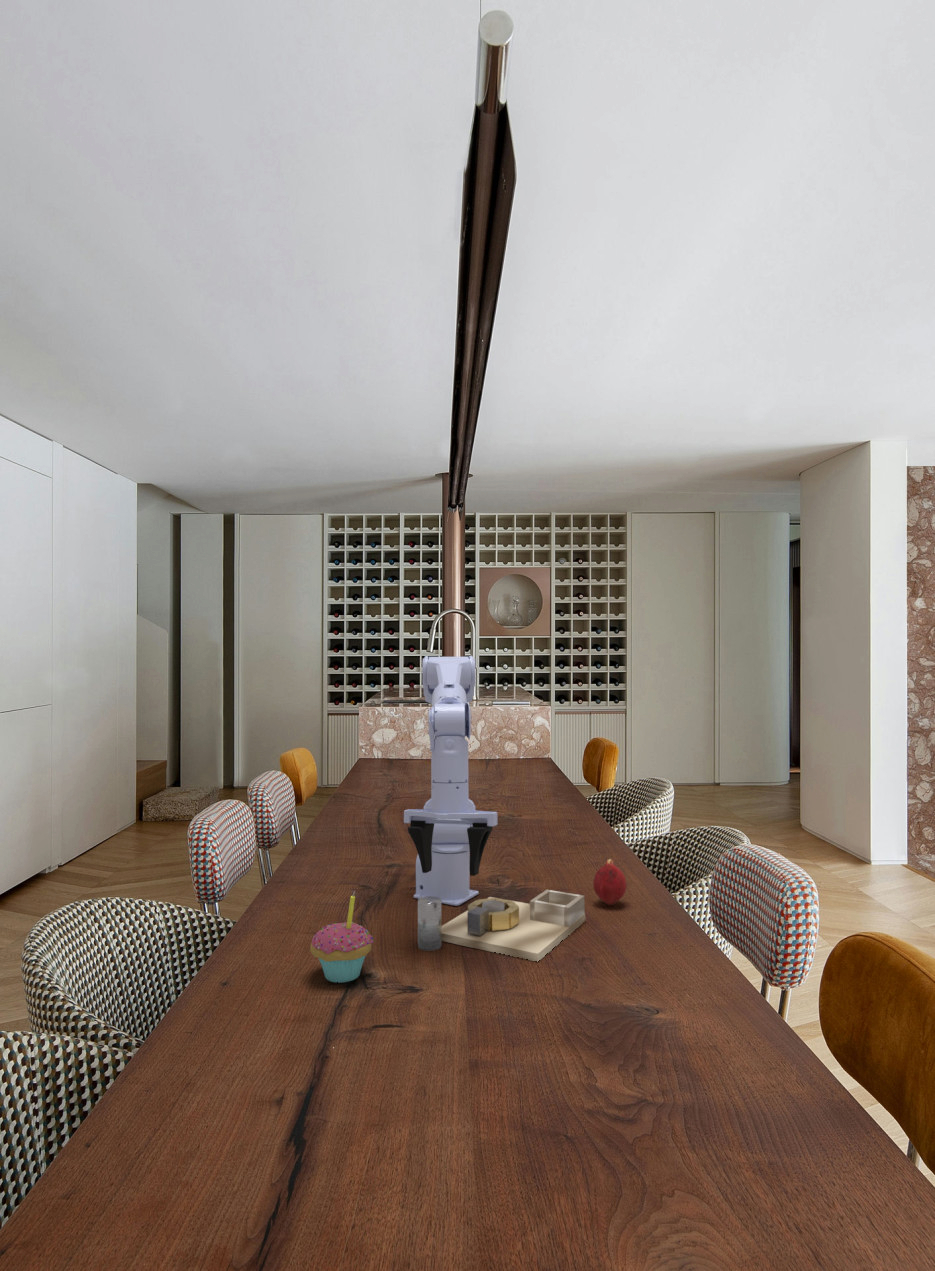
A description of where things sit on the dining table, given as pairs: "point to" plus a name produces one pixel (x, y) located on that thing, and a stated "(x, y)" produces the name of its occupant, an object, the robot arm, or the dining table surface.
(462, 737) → the robot arm
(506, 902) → the ring nut
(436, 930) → the pin
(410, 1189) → the dining table surface
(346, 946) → the cupcake
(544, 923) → the board
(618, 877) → the onion
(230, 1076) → the dining table surface
